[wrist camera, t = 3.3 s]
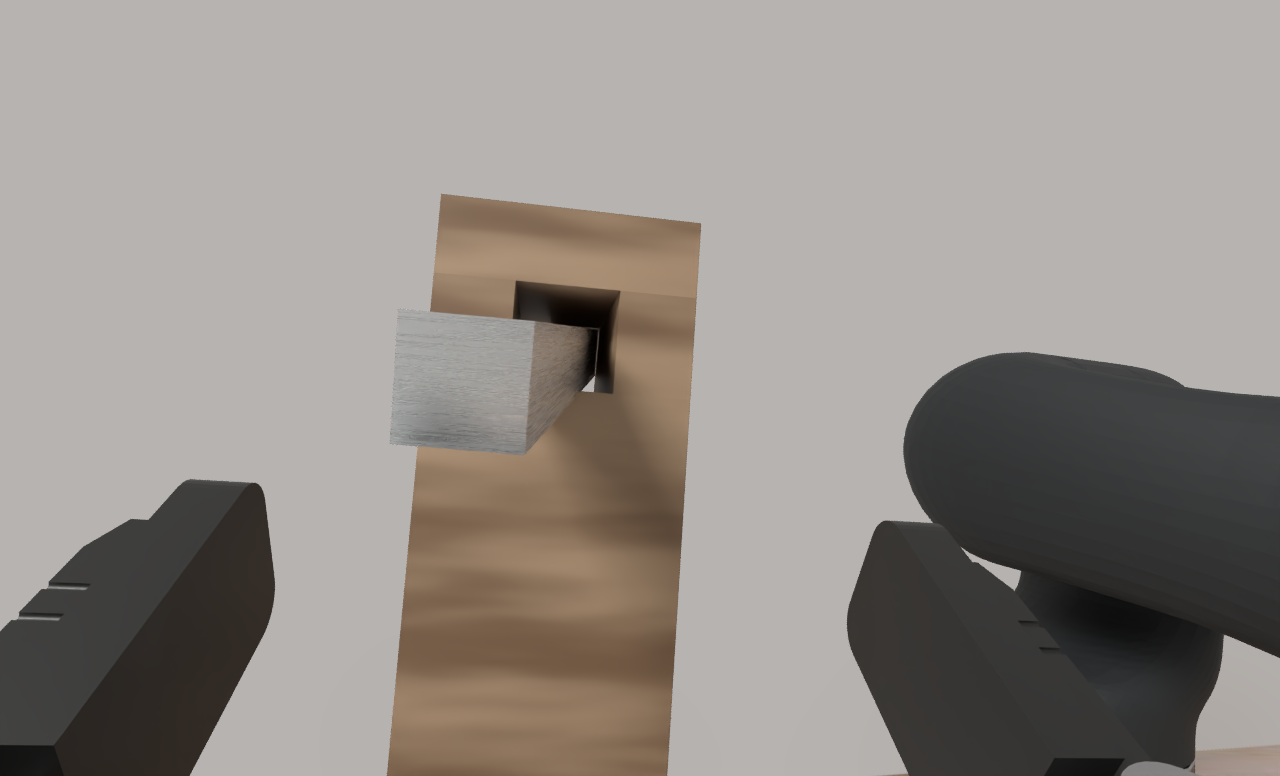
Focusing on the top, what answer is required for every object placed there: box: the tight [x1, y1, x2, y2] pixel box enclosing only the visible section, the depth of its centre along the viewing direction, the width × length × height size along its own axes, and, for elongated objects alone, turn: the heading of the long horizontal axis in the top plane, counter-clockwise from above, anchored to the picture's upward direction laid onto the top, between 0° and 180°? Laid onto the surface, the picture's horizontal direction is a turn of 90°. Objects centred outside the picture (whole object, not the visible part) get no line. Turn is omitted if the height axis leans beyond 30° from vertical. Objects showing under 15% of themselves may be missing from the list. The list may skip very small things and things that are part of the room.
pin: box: [390, 309, 599, 455], centre depth 24 cm, size 24×2×2 cm, turn 1°
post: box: [387, 194, 701, 776], centre depth 30 cm, size 14×14×37 cm
